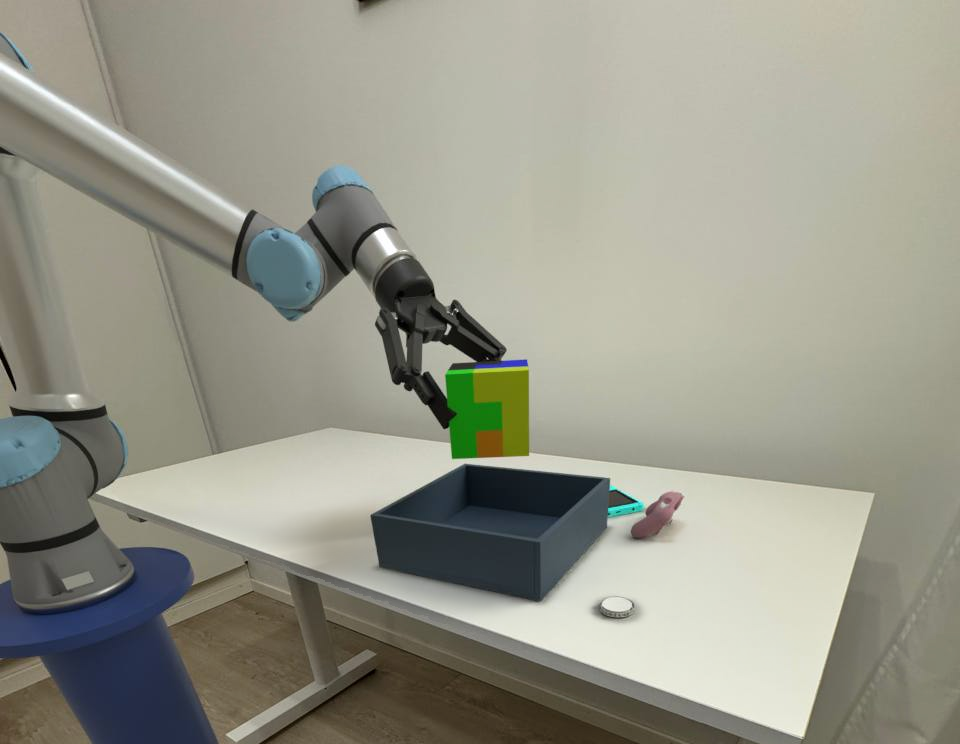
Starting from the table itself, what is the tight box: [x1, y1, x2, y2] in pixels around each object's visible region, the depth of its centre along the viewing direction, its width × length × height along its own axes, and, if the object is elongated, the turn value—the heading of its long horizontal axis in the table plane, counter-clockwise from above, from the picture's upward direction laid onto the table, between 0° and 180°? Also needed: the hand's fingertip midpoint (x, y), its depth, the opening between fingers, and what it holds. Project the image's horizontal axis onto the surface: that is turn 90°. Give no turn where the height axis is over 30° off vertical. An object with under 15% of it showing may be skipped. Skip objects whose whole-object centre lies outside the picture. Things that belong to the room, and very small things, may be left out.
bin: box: [370, 463, 611, 602], centre depth 82 cm, size 26×26×8 cm
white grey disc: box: [599, 596, 635, 618], centre depth 66 cm, size 4×4×1 cm
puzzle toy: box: [444, 359, 530, 460], centre depth 73 cm, size 10×10×10 cm
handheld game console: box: [608, 484, 645, 518], centre depth 98 cm, size 10×16×1 cm, turn 19°
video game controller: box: [630, 489, 685, 539], centre depth 84 cm, size 10×5×7 cm, turn 151°
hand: (485, 412), depth 73 cm, fingers closed on puzzle toy, 12 cm apart
